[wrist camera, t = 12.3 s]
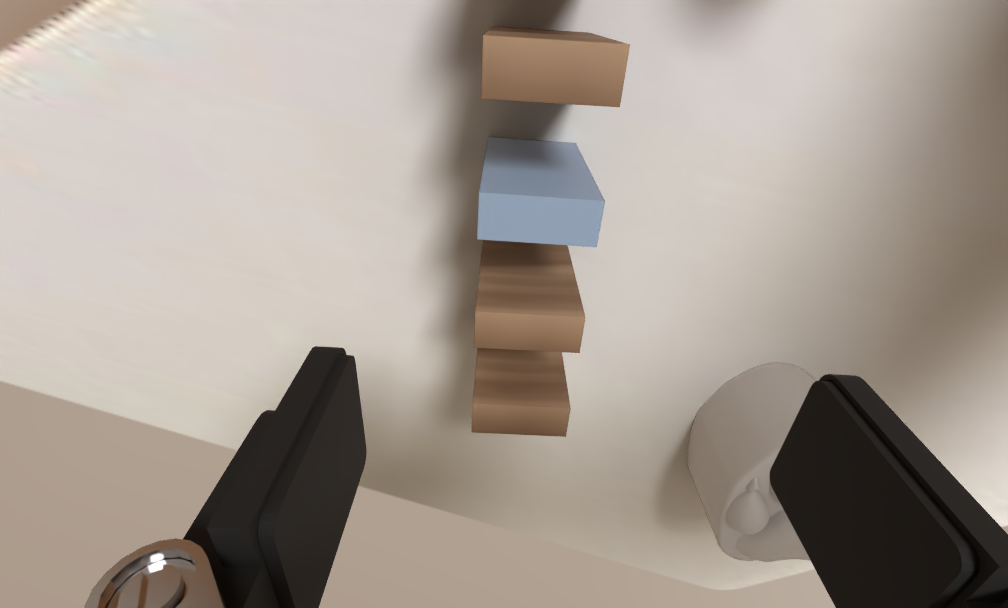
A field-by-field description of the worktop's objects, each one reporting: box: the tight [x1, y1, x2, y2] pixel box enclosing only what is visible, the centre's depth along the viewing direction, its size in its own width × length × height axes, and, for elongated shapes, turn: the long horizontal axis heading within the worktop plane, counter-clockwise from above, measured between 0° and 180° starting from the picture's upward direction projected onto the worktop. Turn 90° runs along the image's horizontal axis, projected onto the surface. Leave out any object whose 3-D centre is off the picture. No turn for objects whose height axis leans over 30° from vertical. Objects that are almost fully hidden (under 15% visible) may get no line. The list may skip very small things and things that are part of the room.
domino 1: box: [481, 27, 630, 107], centre depth 22 cm, size 2×5×10 cm, turn 87°
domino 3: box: [472, 348, 570, 437], centre depth 30 cm, size 2×5×10 cm, turn 87°
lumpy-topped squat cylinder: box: [687, 363, 816, 562], centre depth 36 cm, size 10×13×9 cm
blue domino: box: [477, 137, 605, 247], centre depth 24 cm, size 2×5×10 cm, turn 86°
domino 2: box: [474, 240, 585, 353], centre depth 27 cm, size 2×5×10 cm, turn 87°
